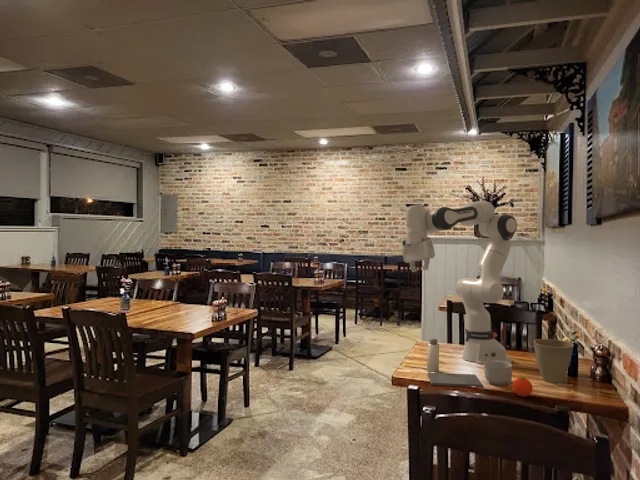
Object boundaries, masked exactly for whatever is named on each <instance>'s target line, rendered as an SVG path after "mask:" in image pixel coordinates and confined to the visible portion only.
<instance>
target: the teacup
mask: <svg viewBox="0 0 640 480" xmlns="http://www.w3.org/2000/svg"><path fill="white" fill-rule="evenodd" d="M483 367H484V368H483V369H484V370H483V371H484V378H485V380H486V381H487V382H489V384H491V385H494V384H495V385H494V386H506V385H508V384H509V383H510V382H512V379H513V365H512V363H507V362H502V361H499V360H497V361H489V362H486V363H484V364H483Z"/></svg>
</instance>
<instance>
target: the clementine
mask: <svg viewBox="0 0 640 480" xmlns="http://www.w3.org/2000/svg"><path fill="white" fill-rule="evenodd" d="M533 388H534V387H533V384H532V382H531V381H530V380H529V379H528V378H526V377H524V376H522V377H518V378H516V379H515V380H514V381H513V383H512V389H513V391H514V393H515V394H516V395H517V396H519V397H520V398H521V397H522V398H525V397H528V396H530V395H531V394H532V392H533Z"/></svg>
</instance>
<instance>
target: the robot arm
mask: <svg viewBox="0 0 640 480" xmlns="http://www.w3.org/2000/svg"><path fill="white" fill-rule="evenodd" d="M404 215H405V216H404V217H405V226H406V237H405V238H404V240H402V241H401V247H402V255H403V256H402V257H403V261H404V262H405V263H406V264H408V263H409V266H410V268H411V272H412V273H415V272H418V271H417V269H418V268H417V267H416V262H420V261H423V262H424V264H423V265H422V268H423V271H428V270H429V269H430V268H429V265H430V261H431V260H430V259H434V258H435V256H436V253H435V247H434V243H433V241H432V239H431V238H430V237H429V236H428V234H434V233H438V232H441V231H447V230H451V229H453V228H454V227H455V226H456V225H457V224H459V223H460V224H461V225H463V226H465V227H466V226H467V227H468V226H469V227H472V226H473V228H474V231H475V233H476V234H477V236H479V237H483V238H485V237H487V238H489V241H488V244H487V245H486V248H485V249H484V251H483V253H482V256H481V258H480V260H479V261H478V269H479V271H480V272H481V274H480V276H479V278H477V277H463V278H460V279H459V280H457V282H456V284H455V292H456V294H457V295H458V296H459V298H460V299H461V302H462V304H463V306H464V310H465V316H466V317H465V319H466V320H465V321H466V323H465V325H466V326H465V329H464V340H465V343H464V348H463V353H462V355H461V358H462V359H463V360H465V361H469V362H473V363H475V364H476V363H477V364H479V365H484V363H486V362H489V361H497V360H499V361H502V362H507V363H510V364H512V363H513V362H512V358H511V357H510V356H508V355H507V350H506V348H505V346H503V345H502V343H500V341H498V340H496V339H495V338H497V336H498V333H496V332H494V331H492V330H491V314H490V312H489V311H488V309H486V307H485V305H484V303H486V304H494V303H495V304H496V303H499V302H500V301H501V300H502V299H503V297H504V287H503V285H502V283H501V281H500V280H501V279H500V278H501V274H502V271H503V269H504V265H505V264H506V262H507V259H508V257H509V254H510V252H511V251H510V250H511V247H512V242H511V239H512V238H513V237H514V235H515V234H516V232H517V228H518V223H517V220H516V218H515V217H514V216H512V215H510V214H496V210H495V207H494V205H493V203H491V202H490V201H486V200H485V201H483V200H479V201H478V200H477V201H471V202H467V203H464V204H462V205H460V206H459V207H458V208H451V207H449V206H443V207H440V208H438V209H435V210H429V209H427V208H426V207H424V205H423V204H422V203H416V204H412V205H409V206H407V207H406V209H405V214H404Z"/></svg>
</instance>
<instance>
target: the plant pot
mask: <svg viewBox="0 0 640 480" xmlns="http://www.w3.org/2000/svg"><path fill="white" fill-rule="evenodd" d="M533 347H534V348H533V349H534V354H535V358H536V363H537V367H538V371H539V373H540V376H541V378H542V380H543V382H546V383H549V384H550V383H551V384H562V383H563V381H564V379H565V377H566V374H568V373H567V372H568V369H569V367H570V363H571V359H572V356H573V349H574V344H573V343H572V342H569V341H565V340H559V339H552V338H551V339H550V338H540V339H539V338H538V339H534V340H533Z"/></svg>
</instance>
